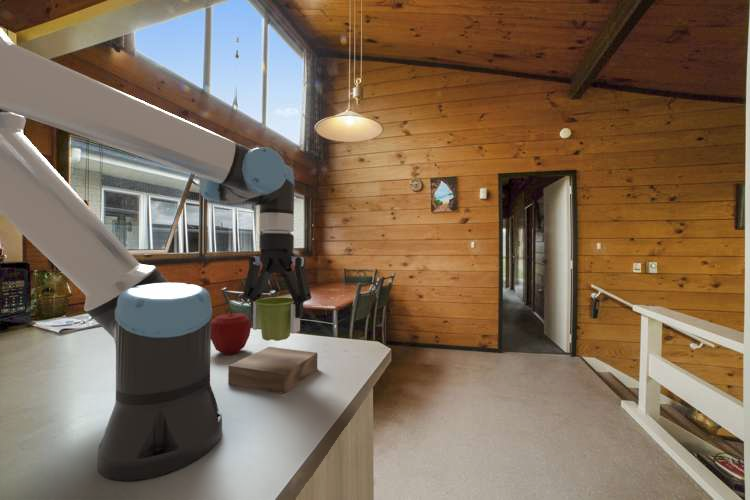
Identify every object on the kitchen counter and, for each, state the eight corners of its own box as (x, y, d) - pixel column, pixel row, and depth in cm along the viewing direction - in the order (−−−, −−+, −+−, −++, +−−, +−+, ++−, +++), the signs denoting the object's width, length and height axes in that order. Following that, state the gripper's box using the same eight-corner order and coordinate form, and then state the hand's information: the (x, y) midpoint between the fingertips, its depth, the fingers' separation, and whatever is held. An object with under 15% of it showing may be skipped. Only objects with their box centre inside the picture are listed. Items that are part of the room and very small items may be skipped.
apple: (238, 344, 96) (238, 306, 96) (258, 351, 90) (259, 310, 90) (201, 353, 87) (201, 311, 87) (221, 362, 81) (221, 316, 81)
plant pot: (305, 337, 73) (305, 300, 73) (267, 346, 66) (267, 305, 66) (283, 330, 79) (284, 295, 79) (247, 337, 72) (247, 300, 72)
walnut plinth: (284, 393, 64) (284, 373, 64) (228, 384, 68) (228, 365, 68) (317, 368, 77) (317, 352, 77) (268, 362, 81) (268, 346, 81)
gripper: (327, 233, 73) (326, 330, 73) (248, 234, 79) (248, 322, 79) (311, 231, 66) (310, 338, 66) (226, 232, 72) (225, 330, 72)
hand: (276, 330), depth 72 cm, fingers closed on plant pot, 9 cm apart
